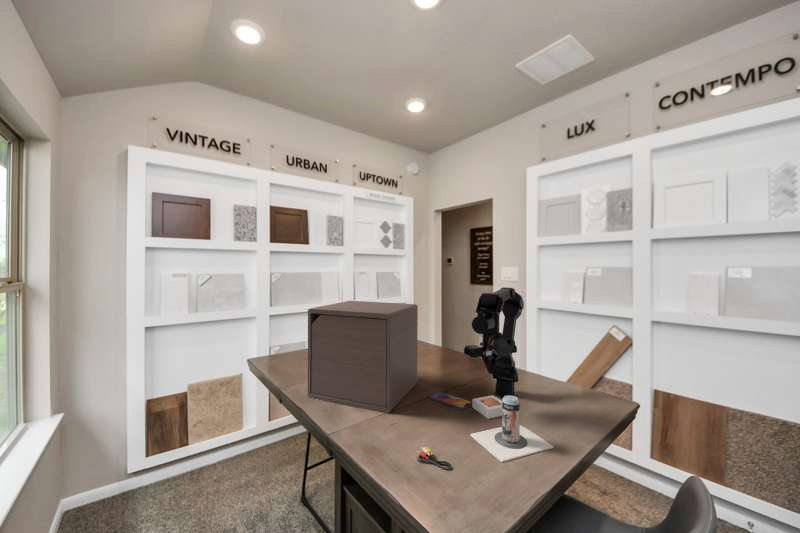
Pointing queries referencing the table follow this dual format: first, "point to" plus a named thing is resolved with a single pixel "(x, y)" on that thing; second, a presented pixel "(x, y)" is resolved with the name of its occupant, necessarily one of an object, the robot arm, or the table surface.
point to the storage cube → (362, 353)
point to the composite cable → (431, 459)
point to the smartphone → (451, 400)
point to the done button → (490, 402)
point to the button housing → (484, 409)
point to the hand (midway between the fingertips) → (490, 373)
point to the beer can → (510, 418)
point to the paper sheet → (511, 444)
